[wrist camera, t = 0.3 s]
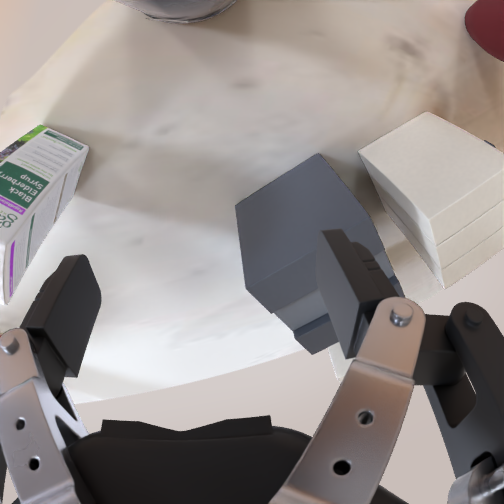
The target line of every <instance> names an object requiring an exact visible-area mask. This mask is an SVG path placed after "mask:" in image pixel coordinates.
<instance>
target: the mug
mask: <svg viewBox="0 0 504 504" xmlns="http://www.w3.org/2000/svg"><path fill="white" fill-rule="evenodd" d="M465 25H466V28H467V31H468V33H469V34H470V36H471V37H472V38H473V39H474V40H475V41H476V42H477V43H478V44H479V45H480V46H481V47H482V48H483V49H484V50H485V51H486V52H488V53H489V54H490V55H492V56H494V57H495V58H497V59H499V60H501V61H503V62H504V0H478V1H476V2H475V3H474V4H473V5H472V6H471V7H470V8H469V9H468V10H467V12H466V15H465Z"/></svg>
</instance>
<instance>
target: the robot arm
mask: <svg viewBox="0 0 504 504" xmlns="http://www.w3.org/2000/svg"><path fill="white" fill-rule="evenodd" d="M114 1H116V2H119V3H122V4H124V5H127V6H129V7H132V8H134V9H136V10H139V11H141V12H143V13H144V14H146V15H148V16H149V17H152V18H154V19H150V18H146V19H149V20H159V21H163V22H167V23H175V24H187V23H194V22H199V21H203V20H206V19H209V18H212V17H214V16H216V15H218V14H220V13H222V12H223V11H225V10H227V9H228V8H229V7H231V6H232V5H233V4H234V3H235V2H236V1H237V0H114ZM315 273H316V281H317V285H318V288H319V291H320V293H321V296H322V298H323V301H324V304H325V306H326V309H327V311H328V314H329V317H330V319H331V322H332V324H333V327H334V330H335V332H336V335H337V338H338V340H339V343H340V346H341V349H342V351H343V354H344V357H345V360H346V359H351V358H355V359H353V360H352V362H351V364H350V366H349V368H348V370H347V372H346V374H345V376H344V378H343V380H342V382H341V384H340V386H339V389H338V390H337V392H336V395H335V396H334V398H333V400H332V402H331V404H330V406H329V408H328V410H327V412H326V414H325V415H324V417H323V419H322V421H321V423H320V424H319V426H318V428H317V430H316V432H315V434H314V435H313V437H311V436H309V435H306V434H304V433H302V432H299V431H296V430H292V429H289V428H284V427H277V426H272V424H271V417H270V415H268V416H259V417H251V418H239V419H227V420H223V421H220V422H216V423H213V424H209V425H206V426H202V427H198V428H195V429H191V430H187V431H175V430H171V429H166V428H162V427H158V426H155V425H151V424H147V423H143V422H139V421H117V420H103V422H102V427H101V431H98V432H95V433H92V434H89V433H88V431H87V429H86V428H85V426H84V424H83V422H82V420H81V418H80V416H79V414H78V412H77V410H76V408H75V406H74V404H73V401H72V399H71V397H70V395H69V393H68V390H67V388H66V386H65V385H64V384H63V380H64V377H76V378H77V377H78V373H79V370H80V367H81V363H82V360H83V357H84V353H85V350H86V347H87V344H88V341H89V338H90V335H91V332H92V329H93V326H94V323H95V320H96V317H97V314H98V312H99V309H100V306H101V291H100V288H99V285H98V283H97V281H96V278H95V276H94V273H93V271H92V268H91V266H90V263H89V260H88V258H87V257H86V256H85V255H84V254H82V255H73V256H66V257H64V258H63V260H62V261H61V263H60V265H59V266H58V268H57V270H56V271H55V272H54V273H53V274H52V275H51V276H50V277H49V278H47V279H46V280H45V282H44V284H43V285H42V287H41V289H40V293H38V294H37V296H36V298H35V301H33V303H32V305H31V307H30V309H29V310H28V312H27V314H26V316H25V318H24V320H23V322H22V324H21V326H20V328H14V329H11V330H9V331H7V332H5V333H4V334H3V335H2V336H1V337H0V504H2V500H3V491H4V483H5V476H6V470H7V467H8V470H9V473H10V475H11V479H12V481H13V484H14V487H15V490H16V492H17V494H18V498H17V499H16V500H15V501H14V502H13V503H12V504H408V503H407V502H405V501H403V500H402V499H400V498H399V497H397V496H396V495H394V494H393V493H391V492H389V491H388V490H387V489H385V488H384V487H382V486H381V485H379V483H380V481H381V478H382V476H383V474H384V471H385V469H386V467H387V464H388V462H389V459H390V457H391V454H392V452H393V449H394V446H395V444H396V441H397V438H398V436H399V433H400V430H401V427H402V424H403V421H404V418H405V415H406V412H407V409H408V406H409V402H410V399H411V396H412V392H413V389H414V385H423V386H424V388H425V391H426V394H427V396H428V399H429V401H430V404H431V406H432V409H433V412H434V414H435V417H436V420H437V423H438V425H439V428H440V431H441V434H442V437H443V440H444V443H445V446H446V449H447V452H448V455H449V458H450V461H451V464H452V467H453V470H454V474H455V477H456V480H455V481H454V483H453V484H452V486H451V488H450V491H449V495H448V502H447V504H504V337H503V335H502V333H501V332H500V330H499V329H498V327H497V326H496V324H495V322H494V321H493V320H492V318H491V317H490V315H489V314H488V313H487V311H486V310H485V309H483V308H482V307H480V306H479V305H476V304H474V303H469V302H461V303H458V304H456V305H455V306H454V308H453V309H452V311H451V314H450V316H443V315H429V314H425V313H424V311H423V310H422V308H421V307H420V306H419V305H418V304H417V303H415V302H414V301H412V300H410V299H407V298H403V297H400V296H399V295H398V293H397V292H396V290H395V288H394V287H393V285H392V284H391V282H390V281H389V279H388V278H387V276H386V275H385V273H384V271H383V270H382V269H381V267H380V265H379V264H378V262H377V261H375V258H374V256H373V255H372V254H371V252H370V251H369V249H367V248H366V247H364V246H363V245H362V244H360V243H359V242H350V240H349V239H348V237H347V236H346V234H345V233H344V231H343V230H342V229H341V228H339V229H328V230H319V232H318V237H317V253H316V267H315ZM466 373H467V375H468V377H469V379H470V381H471V383H472V385H473V387H474V389H475V392H476V394H475V392H474V390H473V388H472V386H471V383H470V381H469V379H468V377H467V375H466Z"/></svg>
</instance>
